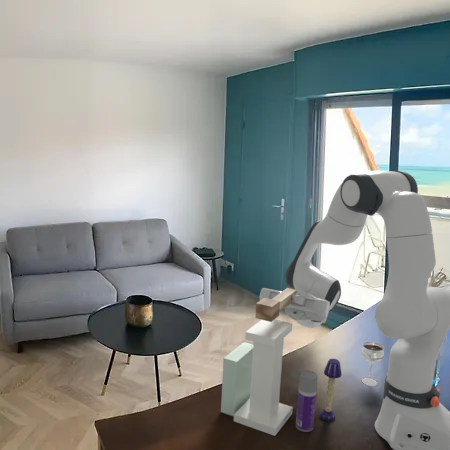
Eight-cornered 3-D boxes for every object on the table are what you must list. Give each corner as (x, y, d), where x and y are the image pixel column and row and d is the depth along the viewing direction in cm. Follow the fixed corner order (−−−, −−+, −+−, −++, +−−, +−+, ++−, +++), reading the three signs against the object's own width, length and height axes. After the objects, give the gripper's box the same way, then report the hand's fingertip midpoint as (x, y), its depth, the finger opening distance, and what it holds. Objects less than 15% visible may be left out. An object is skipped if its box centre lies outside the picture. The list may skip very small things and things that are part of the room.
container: (313, 433, 135) (317, 380, 132) (294, 430, 136) (299, 377, 133) (313, 423, 139) (318, 371, 136) (296, 420, 140) (300, 369, 137)
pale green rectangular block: (252, 396, 151) (256, 345, 148) (233, 416, 141) (236, 361, 137) (240, 392, 153) (243, 342, 149) (220, 411, 142) (223, 358, 139)
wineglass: (353, 380, 163) (357, 345, 160) (365, 374, 167) (369, 339, 165) (372, 389, 158) (377, 353, 156) (384, 382, 162) (389, 347, 160)
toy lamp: (324, 410, 146) (329, 355, 142) (339, 416, 143) (345, 360, 140) (316, 417, 142) (321, 361, 138) (332, 423, 139) (338, 366, 136)
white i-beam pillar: (292, 413, 143) (299, 325, 138) (275, 435, 133) (282, 341, 127) (253, 400, 149) (258, 315, 143) (233, 421, 138) (238, 329, 133)
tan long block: (298, 299, 146) (299, 286, 145) (271, 321, 130) (272, 306, 129) (283, 296, 148) (284, 283, 147) (255, 318, 132) (256, 303, 131)
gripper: (270, 289, 161) (255, 278, 149) (335, 303, 151) (324, 291, 140) (265, 309, 159) (249, 299, 147) (330, 324, 150) (318, 314, 138)
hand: (286, 295), depth 143 cm, fingers closed on tan long block, 3 cm apart
